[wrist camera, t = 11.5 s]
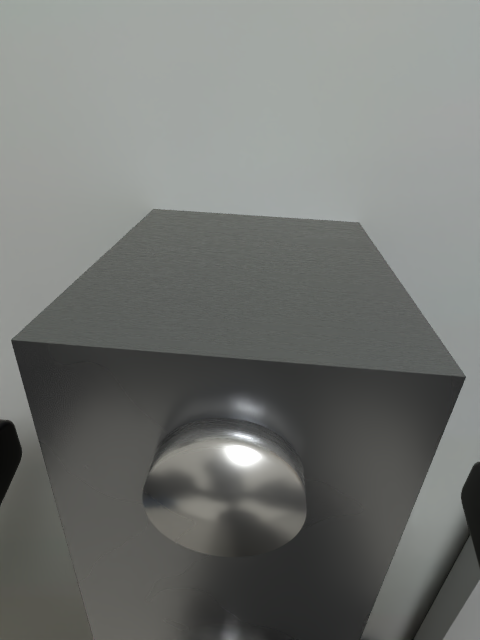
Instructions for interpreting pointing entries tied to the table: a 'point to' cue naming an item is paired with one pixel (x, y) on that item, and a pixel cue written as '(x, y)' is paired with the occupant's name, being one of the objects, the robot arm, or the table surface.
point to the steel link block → (235, 426)
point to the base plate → (456, 602)
